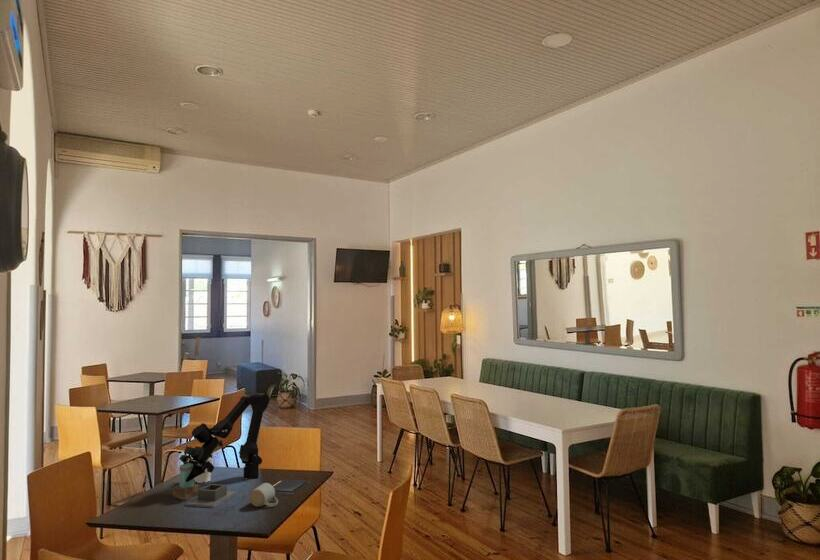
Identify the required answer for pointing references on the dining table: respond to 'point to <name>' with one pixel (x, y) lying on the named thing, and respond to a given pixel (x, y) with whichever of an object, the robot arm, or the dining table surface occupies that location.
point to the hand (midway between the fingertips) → (183, 480)
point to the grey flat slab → (288, 486)
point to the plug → (186, 475)
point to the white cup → (204, 475)
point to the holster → (185, 492)
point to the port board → (211, 496)
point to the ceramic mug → (263, 495)
